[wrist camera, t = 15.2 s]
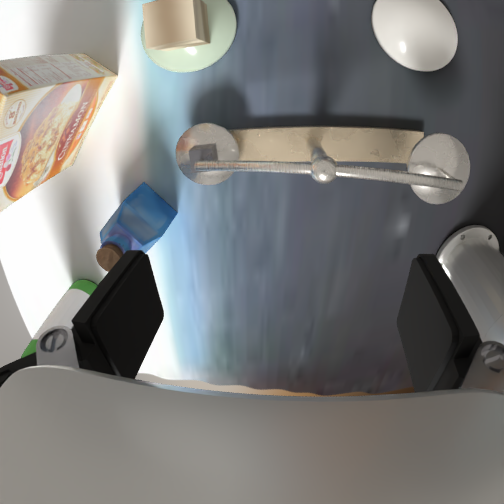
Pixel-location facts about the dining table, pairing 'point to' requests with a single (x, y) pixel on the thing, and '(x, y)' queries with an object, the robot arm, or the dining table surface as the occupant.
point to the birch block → (175, 24)
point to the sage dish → (202, 55)
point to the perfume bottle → (134, 226)
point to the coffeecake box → (45, 117)
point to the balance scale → (327, 155)
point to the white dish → (415, 32)
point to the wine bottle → (64, 310)
